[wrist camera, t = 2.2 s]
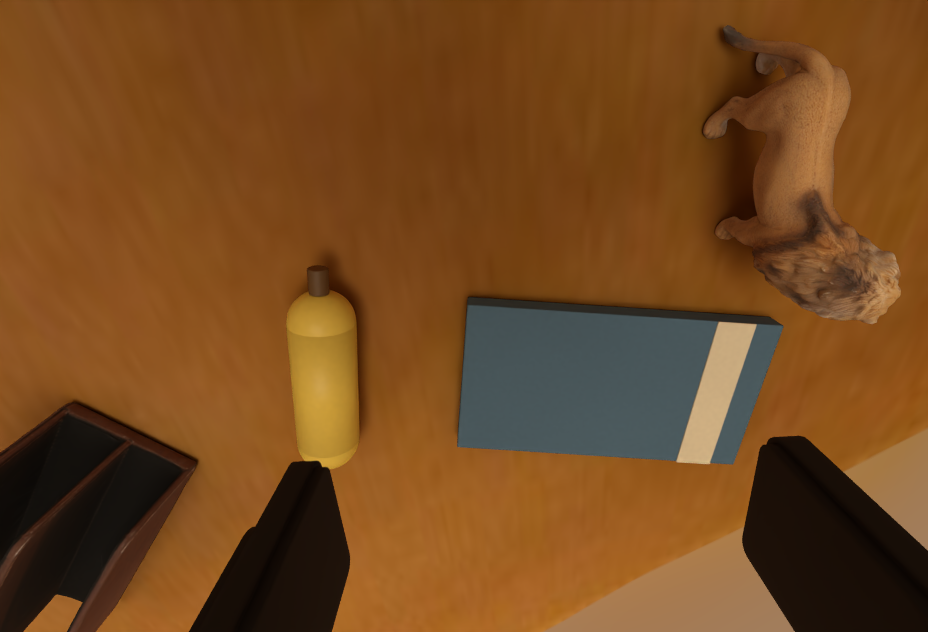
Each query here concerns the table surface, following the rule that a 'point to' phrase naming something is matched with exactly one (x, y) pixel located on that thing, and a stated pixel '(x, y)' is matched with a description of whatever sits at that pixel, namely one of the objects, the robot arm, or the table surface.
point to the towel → (611, 379)
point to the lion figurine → (804, 188)
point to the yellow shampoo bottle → (324, 372)
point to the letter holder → (80, 514)
